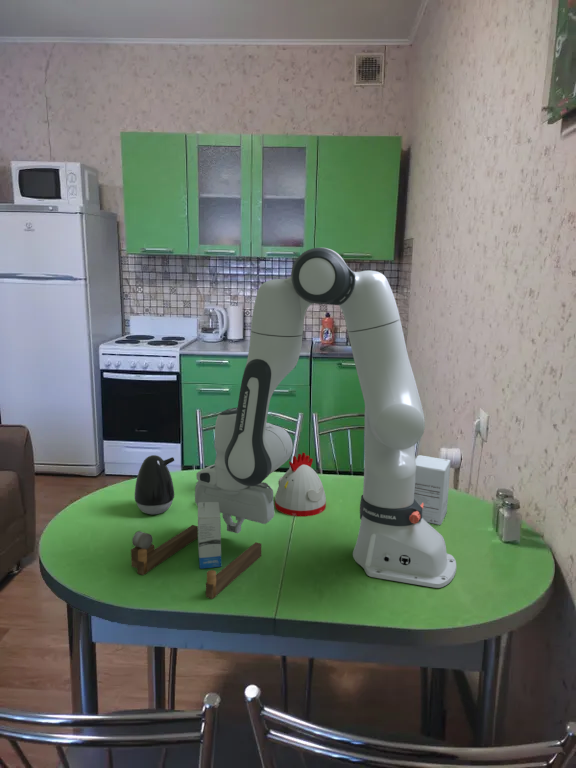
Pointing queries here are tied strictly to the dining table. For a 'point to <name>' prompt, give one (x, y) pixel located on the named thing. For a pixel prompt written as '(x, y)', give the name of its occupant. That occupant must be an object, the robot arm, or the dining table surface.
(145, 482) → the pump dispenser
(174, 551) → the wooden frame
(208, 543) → the ink box
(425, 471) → the supplement box
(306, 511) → the kitchen timer
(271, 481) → the dining table surface
